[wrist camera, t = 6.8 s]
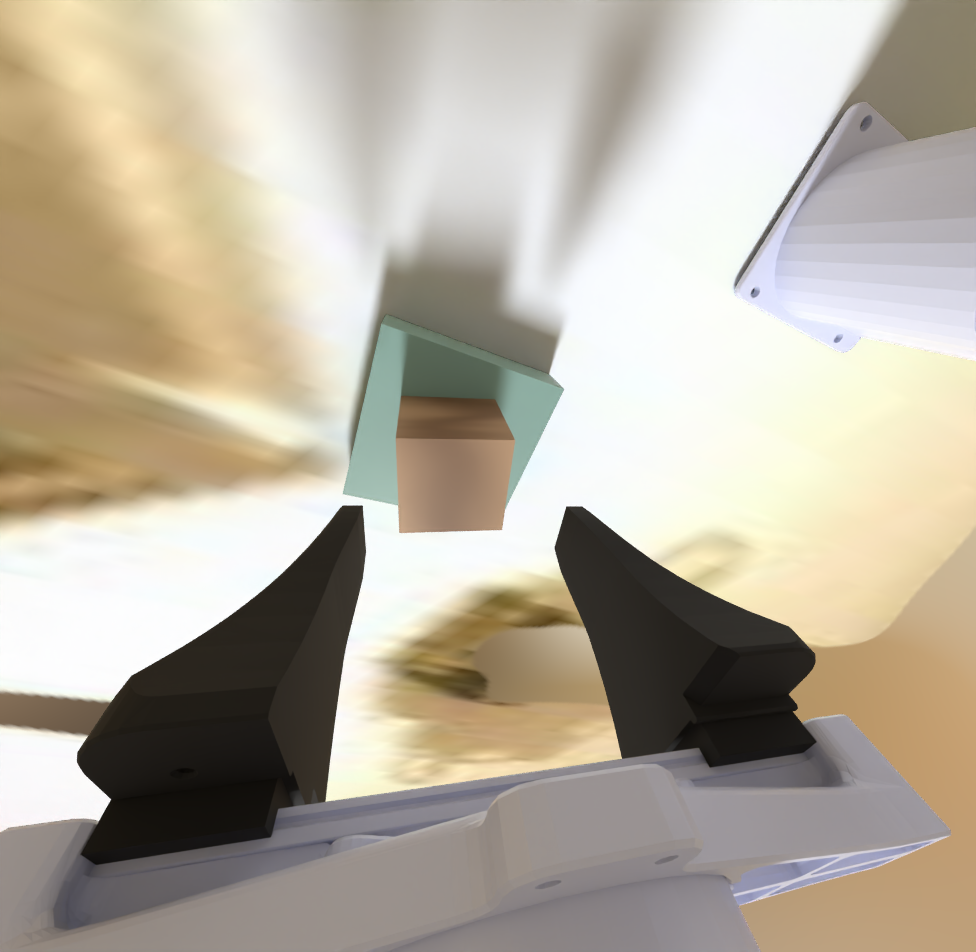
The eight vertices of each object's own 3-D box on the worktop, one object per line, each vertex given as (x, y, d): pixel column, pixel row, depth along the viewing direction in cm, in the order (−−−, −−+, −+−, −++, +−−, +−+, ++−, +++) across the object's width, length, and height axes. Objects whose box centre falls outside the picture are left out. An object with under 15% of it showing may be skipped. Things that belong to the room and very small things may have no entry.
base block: (546, 371, 21) (564, 389, 18) (489, 497, 25) (497, 525, 22) (386, 312, 18) (381, 323, 15) (351, 465, 22) (342, 494, 19)
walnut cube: (495, 399, 18) (515, 440, 14) (486, 476, 20) (501, 529, 16) (401, 395, 17) (395, 438, 13) (403, 477, 19) (399, 532, 16)
